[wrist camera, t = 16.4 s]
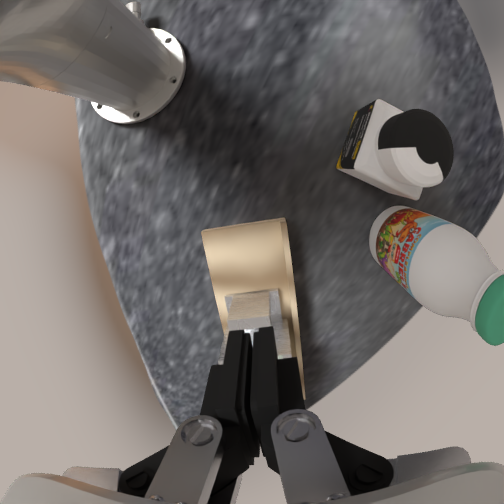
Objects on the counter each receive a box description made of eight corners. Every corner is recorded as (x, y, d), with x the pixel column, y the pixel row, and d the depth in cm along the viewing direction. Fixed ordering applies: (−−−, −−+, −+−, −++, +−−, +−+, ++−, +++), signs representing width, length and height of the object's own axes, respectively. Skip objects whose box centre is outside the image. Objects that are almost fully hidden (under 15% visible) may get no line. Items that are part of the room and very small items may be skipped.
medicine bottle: (354, 110, 27) (401, 83, 15) (408, 138, 27) (471, 130, 16) (334, 168, 29) (374, 170, 17) (389, 193, 29) (448, 210, 18)
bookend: (219, 295, 32) (208, 327, 26) (283, 287, 32) (286, 318, 25) (228, 332, 34) (220, 368, 27) (288, 325, 33) (292, 361, 26)
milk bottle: (421, 201, 29) (550, 247, 10) (422, 262, 31) (527, 346, 12) (364, 208, 30) (481, 270, 11) (368, 272, 32) (456, 383, 13)
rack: (203, 229, 31) (179, 254, 23) (284, 217, 31) (291, 237, 22) (241, 391, 38) (235, 439, 29) (303, 385, 37) (309, 433, 28)
